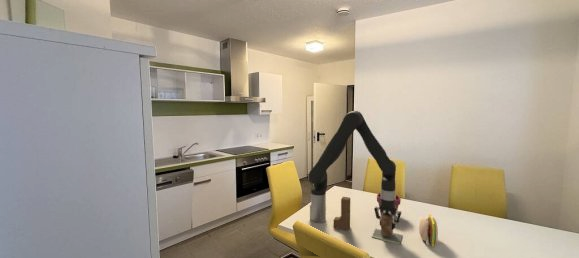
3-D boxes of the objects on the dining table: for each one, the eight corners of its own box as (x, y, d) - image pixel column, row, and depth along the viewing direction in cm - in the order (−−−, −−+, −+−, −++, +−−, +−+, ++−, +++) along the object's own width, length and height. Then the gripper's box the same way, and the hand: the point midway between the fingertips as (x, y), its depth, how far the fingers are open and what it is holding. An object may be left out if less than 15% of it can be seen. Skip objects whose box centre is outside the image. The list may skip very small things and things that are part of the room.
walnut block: (380, 235, 130) (381, 215, 129) (383, 229, 136) (383, 210, 135) (390, 237, 127) (391, 217, 126) (392, 231, 133) (393, 212, 132)
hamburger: (417, 233, 135) (418, 212, 134) (434, 235, 131) (435, 214, 130) (420, 244, 124) (420, 221, 122) (439, 247, 120) (439, 224, 119)
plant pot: (395, 210, 164) (396, 192, 162) (403, 220, 150) (404, 200, 148) (374, 210, 165) (374, 192, 164) (379, 219, 151) (380, 200, 150)
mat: (371, 237, 131) (371, 236, 131) (375, 229, 139) (375, 228, 139) (400, 244, 123) (400, 243, 123) (402, 235, 132) (402, 234, 132)
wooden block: (333, 227, 143) (333, 197, 141) (335, 223, 147) (335, 195, 145) (348, 230, 139) (348, 200, 137) (350, 226, 143) (350, 197, 141)
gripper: (372, 197, 130) (372, 227, 131) (401, 202, 123) (400, 234, 124) (375, 193, 136) (375, 221, 138) (403, 197, 129) (402, 228, 130)
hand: (387, 227), depth 131 cm, fingers closed on walnut block, 5 cm apart
